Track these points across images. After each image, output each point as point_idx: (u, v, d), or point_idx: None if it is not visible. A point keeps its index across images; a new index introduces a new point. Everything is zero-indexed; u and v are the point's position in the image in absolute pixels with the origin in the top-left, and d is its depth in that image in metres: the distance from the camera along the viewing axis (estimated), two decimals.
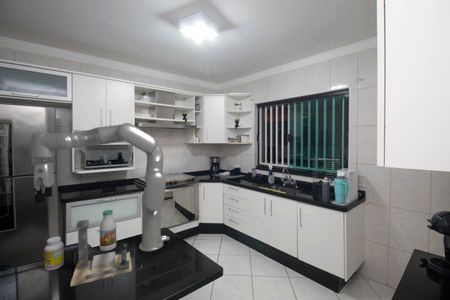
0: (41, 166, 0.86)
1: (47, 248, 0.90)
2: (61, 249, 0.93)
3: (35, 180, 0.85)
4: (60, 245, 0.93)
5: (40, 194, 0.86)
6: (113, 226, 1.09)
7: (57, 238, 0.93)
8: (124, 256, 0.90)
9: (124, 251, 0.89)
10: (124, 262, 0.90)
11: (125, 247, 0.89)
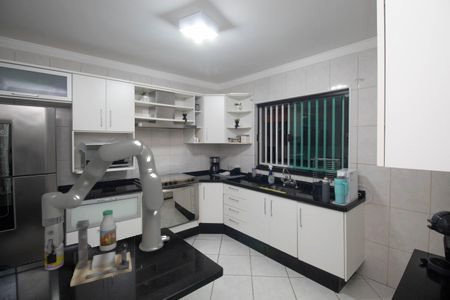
0: (52, 227, 0.89)
1: None
2: (61, 249, 0.93)
3: (46, 242, 0.88)
4: (60, 245, 0.93)
5: (51, 255, 0.89)
6: (113, 226, 1.09)
7: None
8: (124, 256, 0.90)
9: (124, 251, 0.89)
10: (124, 262, 0.90)
11: (125, 247, 0.89)
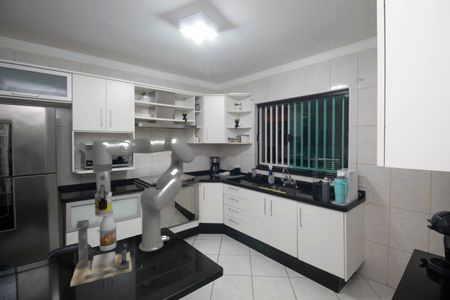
0: (103, 173, 0.90)
1: None
2: (110, 197, 0.94)
3: (98, 187, 0.89)
4: (109, 193, 0.94)
5: (103, 201, 0.90)
6: (113, 226, 1.09)
7: None
8: (124, 256, 0.90)
9: (124, 251, 0.89)
10: (124, 262, 0.90)
11: (125, 247, 0.89)
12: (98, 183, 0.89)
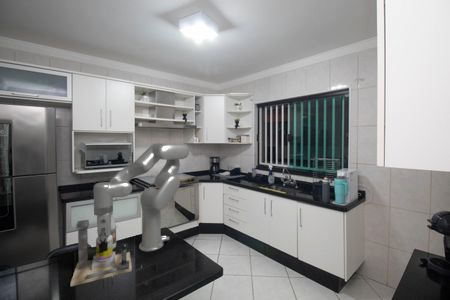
0: (104, 217, 0.90)
1: (99, 240, 0.92)
2: (111, 241, 0.95)
3: (99, 230, 0.89)
4: (110, 237, 0.95)
5: (103, 244, 0.90)
6: (113, 226, 1.09)
7: None
8: (124, 256, 0.90)
9: (124, 251, 0.89)
10: (124, 262, 0.90)
11: (125, 247, 0.89)
12: (99, 227, 0.89)
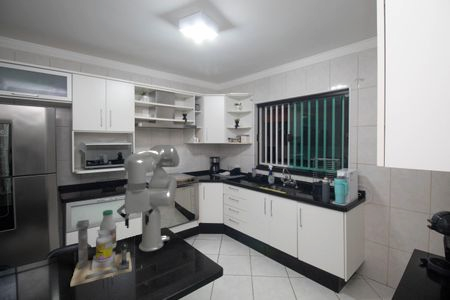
0: None
1: (99, 240, 0.92)
2: (111, 241, 0.95)
3: None
4: (110, 237, 0.95)
5: (125, 219, 0.90)
6: (113, 226, 1.09)
7: (107, 230, 0.95)
8: (124, 256, 0.90)
9: (124, 251, 0.89)
10: (124, 262, 0.90)
11: (125, 247, 0.89)
12: None
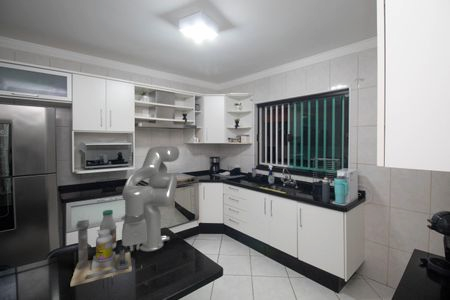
0: (123, 224, 0.89)
1: (99, 240, 0.92)
2: (111, 241, 0.95)
3: None
4: (110, 237, 0.95)
5: (131, 251, 0.91)
6: (113, 226, 1.09)
7: (107, 230, 0.95)
8: (123, 256, 0.89)
9: (123, 251, 0.89)
10: (123, 262, 0.89)
11: (124, 247, 0.89)
12: None
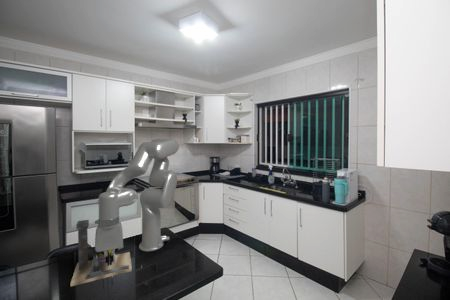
0: None
1: None
2: None
3: None
4: None
5: (105, 256, 0.87)
6: None
7: None
8: (96, 262, 0.85)
9: (96, 257, 0.85)
10: (96, 269, 0.85)
11: (97, 253, 0.84)
12: None
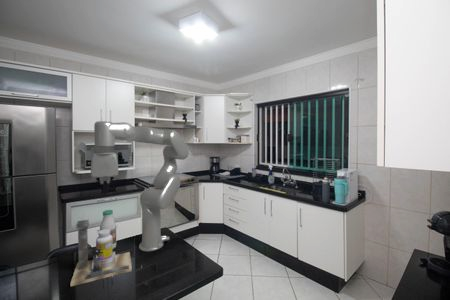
0: (92, 155, 0.86)
1: (99, 240, 0.92)
2: (111, 241, 0.95)
3: None
4: (110, 237, 0.95)
5: (101, 184, 0.89)
6: (113, 226, 1.09)
7: (107, 230, 0.95)
8: (96, 262, 0.85)
9: (96, 257, 0.85)
10: (96, 269, 0.85)
11: (97, 253, 0.84)
12: None
